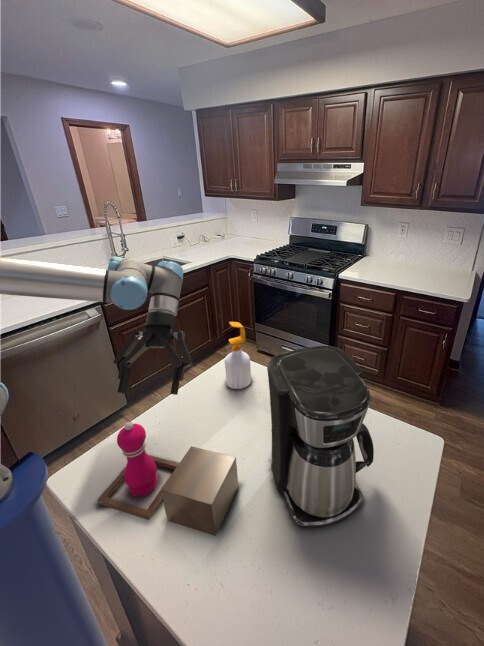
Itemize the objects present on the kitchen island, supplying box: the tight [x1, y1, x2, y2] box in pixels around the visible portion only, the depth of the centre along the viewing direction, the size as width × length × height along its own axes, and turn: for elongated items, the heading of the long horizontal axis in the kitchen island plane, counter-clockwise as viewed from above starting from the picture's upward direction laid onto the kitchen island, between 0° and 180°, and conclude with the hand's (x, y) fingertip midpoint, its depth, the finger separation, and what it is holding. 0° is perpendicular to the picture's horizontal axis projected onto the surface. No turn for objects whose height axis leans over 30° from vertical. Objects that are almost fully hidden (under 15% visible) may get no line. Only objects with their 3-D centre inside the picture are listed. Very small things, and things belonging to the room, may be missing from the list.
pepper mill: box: [116, 421, 158, 498], centre depth 74 cm, size 7×7×20 cm
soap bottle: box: [224, 321, 252, 390], centre depth 112 cm, size 9×9×25 cm
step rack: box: [96, 446, 239, 537], centre depth 74 cm, size 30×14×10 cm, turn 75°
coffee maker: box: [266, 345, 375, 528], centre depth 75 cm, size 23×32×34 cm
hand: (147, 393), depth 79 cm, fingers open, 13 cm apart
